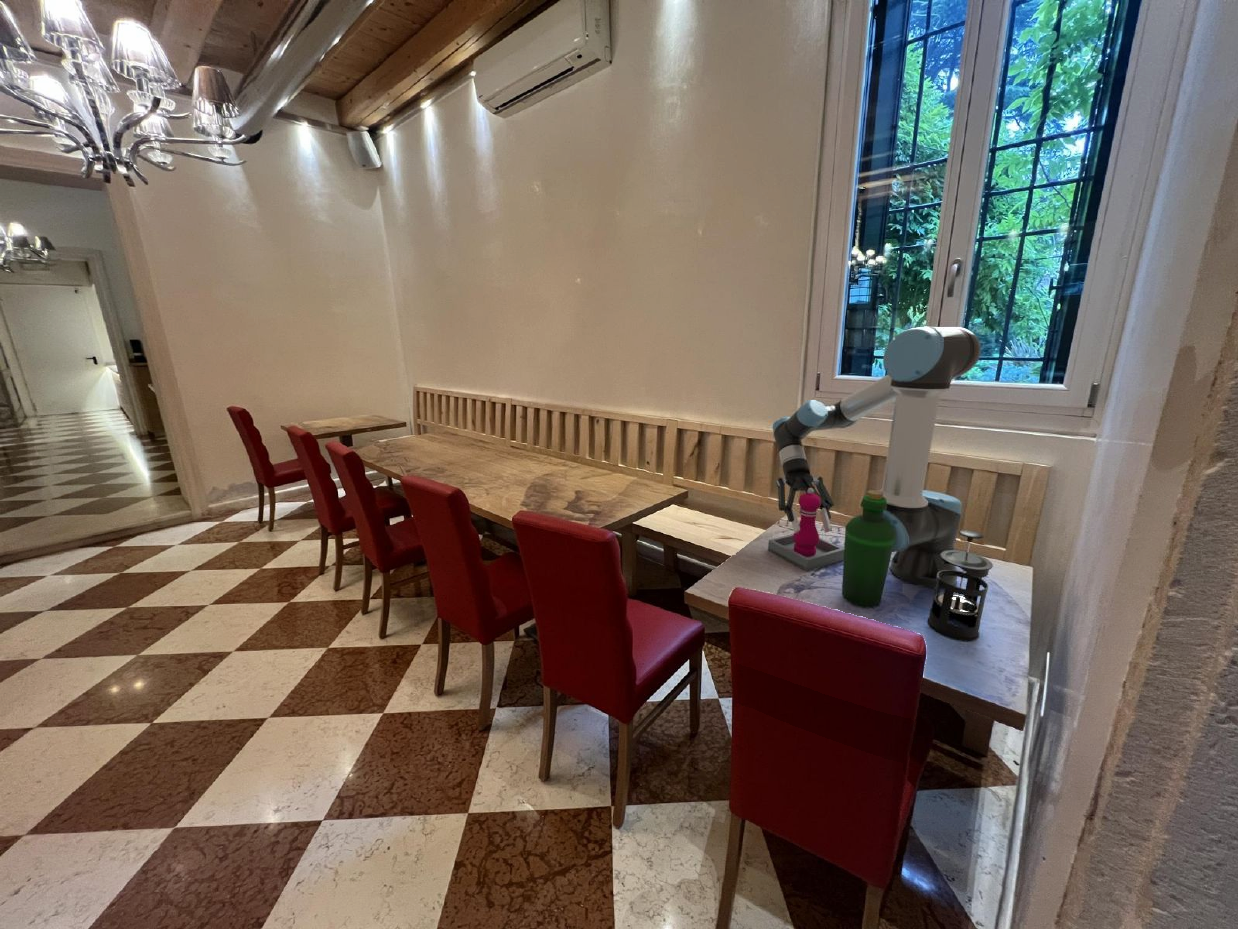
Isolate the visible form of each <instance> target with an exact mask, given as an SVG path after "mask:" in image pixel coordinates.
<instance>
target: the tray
mask: <svg viewBox="0 0 1238 929" xmlns="http://www.w3.org/2000/svg"><path fill="white" fill-rule="evenodd" d="M793 535H794V533H792V534H787V535H784V536H779V537H776V538H772V539H768V546H767V551H768V552H770V553H771V554H773V555H775V556H777V557H779V558H780V559H782V560H784V561H786V562H788V563H790V564H791V565H794V566H795V567H797V568H799V569H801V570H803V571H805V572H810V571H812V570H817V569H820V568H823V567H826V565H827V566H829V565H834V564H837V563H839V562H838V561H840V562H844V547H841V546H840V545H837V544H835V543H833V542H830V541H828V540H825V539H823V538H821V537H819V543H818V544H817V545H816V548H817V549H816V554H815V555H814V556H803V555H801V554H799V553H797V552H795V551H794V544H795V542H794V540H793ZM836 562H837V563H836Z"/></svg>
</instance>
